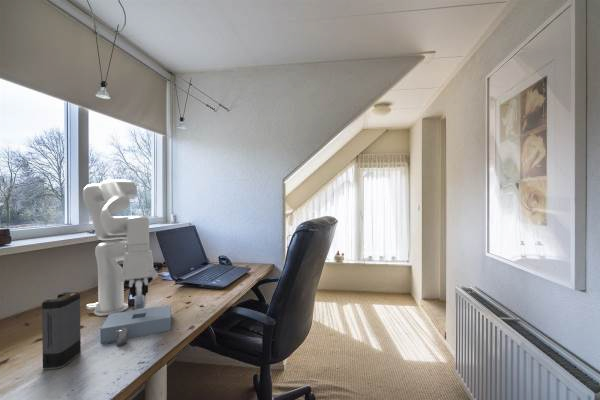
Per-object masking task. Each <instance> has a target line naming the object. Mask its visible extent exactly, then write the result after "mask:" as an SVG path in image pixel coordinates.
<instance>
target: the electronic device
mask: <svg viewBox="0 0 600 400" xmlns="http://www.w3.org/2000/svg"><path fill="white" fill-rule="evenodd" d="M41 325H42V326H41V329H42V331H41V332H42V334H41V335H42V337H41V338H42V342H41V343H42V345H41V346H42V347H41V348H42V369H43V370H59V369H62V368H64V367H65V366H66V365H68V364H69V363H70V362H72V361H73V360H74V359H75V358H77V357H78V356H79V355H80V354H81V352H82V351H81V349H82V348H81V347H82V343H81V334H82V333H81V293H80V292H79V291H71V292H70V291H69V292H62V293H59V294H58V295H57V297H56V298H55V299H54V298H53V299H45V300H44V301H42V302H41Z"/></svg>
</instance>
